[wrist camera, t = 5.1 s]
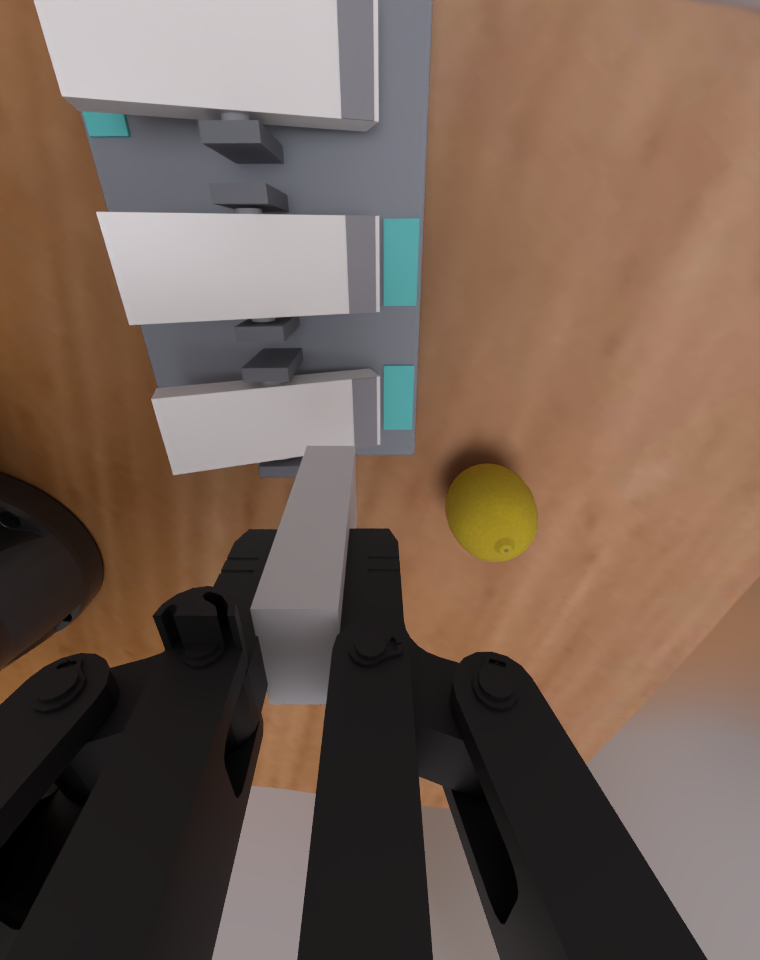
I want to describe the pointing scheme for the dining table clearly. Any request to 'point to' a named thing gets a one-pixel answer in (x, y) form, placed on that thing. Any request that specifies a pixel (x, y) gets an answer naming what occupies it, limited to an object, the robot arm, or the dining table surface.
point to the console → (295, 191)
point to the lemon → (491, 512)
